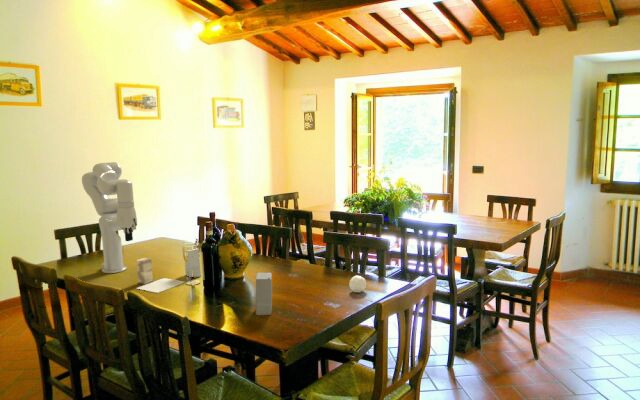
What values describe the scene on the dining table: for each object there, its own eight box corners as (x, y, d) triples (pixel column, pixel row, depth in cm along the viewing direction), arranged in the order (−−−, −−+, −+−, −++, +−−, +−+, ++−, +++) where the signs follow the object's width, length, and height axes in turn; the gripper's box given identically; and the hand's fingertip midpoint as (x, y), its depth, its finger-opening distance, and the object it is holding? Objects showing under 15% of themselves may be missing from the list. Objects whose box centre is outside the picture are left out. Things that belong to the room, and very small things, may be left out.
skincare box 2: (256, 308, 201) (254, 272, 199) (273, 307, 202) (272, 271, 199) (255, 316, 193) (253, 278, 190) (273, 315, 193) (271, 277, 191)
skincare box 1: (201, 276, 248) (199, 249, 245) (189, 278, 244) (188, 250, 242) (195, 272, 254) (194, 246, 252) (184, 275, 251) (183, 247, 249)
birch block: (138, 283, 239) (136, 260, 237) (146, 280, 243) (144, 257, 241) (145, 284, 236) (143, 261, 235) (153, 281, 241) (151, 258, 239)
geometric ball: (353, 298, 218) (343, 284, 218) (361, 287, 224) (351, 274, 224) (364, 293, 213) (353, 280, 213) (372, 283, 219) (361, 269, 218)
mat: (135, 288, 230) (135, 288, 230) (164, 278, 246) (164, 277, 246) (157, 293, 223) (157, 292, 223) (185, 282, 239) (185, 281, 239)
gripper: (109, 205, 239) (113, 240, 242) (130, 206, 232) (133, 243, 234) (122, 203, 246) (125, 238, 248) (142, 204, 238) (145, 240, 241)
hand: (129, 240), depth 241 cm, fingers closed
